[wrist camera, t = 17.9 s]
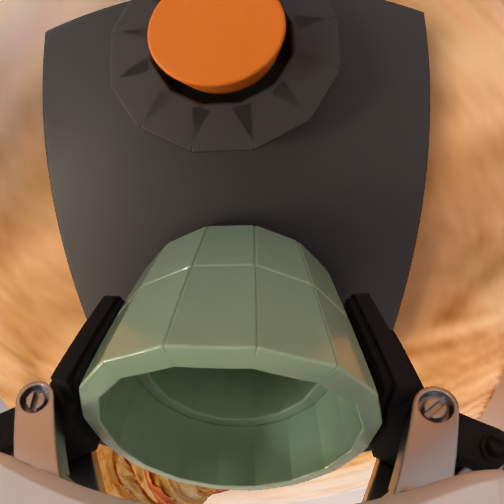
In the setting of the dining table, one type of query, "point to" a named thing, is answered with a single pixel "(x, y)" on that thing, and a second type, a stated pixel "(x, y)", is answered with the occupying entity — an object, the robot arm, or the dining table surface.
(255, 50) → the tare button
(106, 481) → the croissant
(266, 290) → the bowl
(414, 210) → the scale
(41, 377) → the dining table surface
